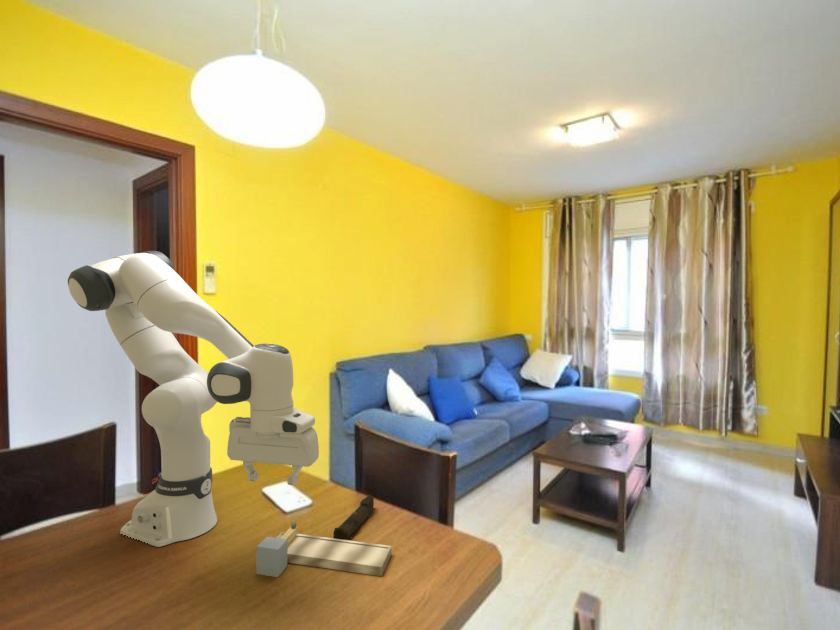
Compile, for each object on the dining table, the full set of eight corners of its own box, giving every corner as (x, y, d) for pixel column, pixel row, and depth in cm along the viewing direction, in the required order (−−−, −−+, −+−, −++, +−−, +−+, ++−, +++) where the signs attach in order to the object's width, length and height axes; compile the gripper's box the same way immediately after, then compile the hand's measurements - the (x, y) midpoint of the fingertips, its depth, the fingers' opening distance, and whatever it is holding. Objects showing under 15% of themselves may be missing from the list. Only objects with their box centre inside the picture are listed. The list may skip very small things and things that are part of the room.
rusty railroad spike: (346, 546, 101) (347, 527, 101) (332, 542, 103) (332, 524, 102) (381, 510, 119) (382, 494, 119) (369, 507, 120) (369, 492, 120)
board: (263, 558, 95) (263, 549, 95) (281, 539, 103) (281, 531, 103) (381, 576, 90) (381, 566, 90) (391, 554, 98) (391, 545, 98)
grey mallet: (256, 574, 90) (256, 546, 90) (285, 542, 102) (285, 518, 102) (277, 577, 89) (277, 549, 89) (304, 545, 101) (304, 520, 101)
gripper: (220, 420, 90) (221, 483, 90) (308, 426, 86) (308, 492, 86) (238, 412, 96) (239, 472, 96) (321, 417, 92) (322, 480, 92)
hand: (272, 482), depth 91 cm, fingers open, 8 cm apart
